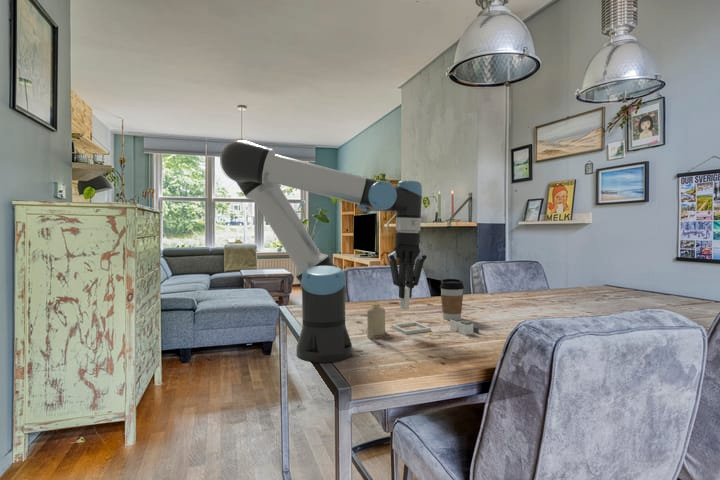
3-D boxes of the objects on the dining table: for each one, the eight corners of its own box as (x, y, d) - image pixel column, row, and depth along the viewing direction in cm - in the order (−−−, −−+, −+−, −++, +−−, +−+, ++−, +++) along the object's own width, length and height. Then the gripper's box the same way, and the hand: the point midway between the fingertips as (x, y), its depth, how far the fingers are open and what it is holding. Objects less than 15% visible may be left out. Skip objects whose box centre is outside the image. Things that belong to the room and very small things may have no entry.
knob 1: (456, 331, 127) (456, 320, 127) (450, 329, 130) (450, 318, 130) (463, 330, 129) (463, 319, 128) (458, 328, 131) (458, 317, 131)
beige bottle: (383, 339, 124) (383, 307, 124) (366, 338, 126) (365, 306, 125) (386, 334, 130) (386, 303, 129) (369, 334, 131) (369, 303, 131)
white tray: (418, 347, 116) (418, 336, 116) (388, 332, 133) (388, 322, 133) (480, 338, 125) (480, 327, 125) (445, 324, 142) (445, 315, 142)
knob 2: (465, 334, 123) (465, 323, 123) (459, 332, 126) (459, 321, 126) (473, 333, 124) (473, 322, 124) (466, 331, 127) (466, 320, 127)
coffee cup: (462, 319, 149) (462, 278, 148) (465, 325, 140) (465, 282, 140) (438, 319, 150) (438, 278, 149) (441, 325, 141) (440, 282, 140)
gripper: (394, 231, 119) (391, 312, 120) (432, 233, 124) (429, 310, 125) (383, 231, 126) (380, 307, 127) (420, 232, 131) (416, 305, 132)
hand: (404, 308), depth 126 cm, fingers closed
